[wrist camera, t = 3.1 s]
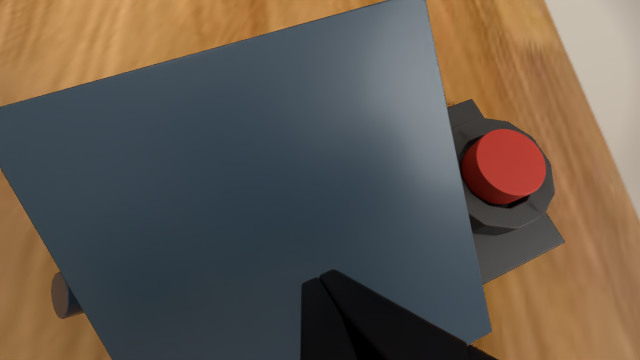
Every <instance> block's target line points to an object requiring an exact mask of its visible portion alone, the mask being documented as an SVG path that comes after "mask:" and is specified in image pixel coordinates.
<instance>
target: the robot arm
mask: <svg viewBox="0 0 640 360" xmlns="http://www.w3.org/2000/svg"><path fill="white" fill-rule="evenodd" d="M300 360H498V359H496V358H494V357H492V356H490V355H488V354H487V353H485V352H483V351H481V350H479V349H478V348H476V347H474V346H472V345H468V347H467V343H466V342H465V341H463V340H461V339H460V338H458V337H456V336H454V335H452V334H451V333H449V332H447V331H445V330H443V329H442V328H440V327H438V326H436V325H434V324H433V323H431V322H429V321H427V320H425V319H424V318H422V317H420V316H418V315H417V314H415V313H413V312H411V311H409V310H408V309H406V308H404V307H402V306H400V305H399V304H397V303H395V302H393V301H391V300H390V299H388V298H386V297H384V296H382V295H381V294H379V293H377V292H375V291H374V290H372V289H370V288H368V287H366V286H365V285H363V284H361V283H359V282H357V281H356V280H354V279H352V278H350V277H348V276H347V275H345V274H343V273H341V272H339V271H338V270H336V269H332V270H330V271H328V272H325V273H323V274H321V275H320V276H319V278H318V277H314V278H312V279H310V280H308V281H306V282H304V283H303V284H302V287H301V339H300Z"/></svg>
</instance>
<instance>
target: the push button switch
mask: <svg viewBox="0 0 640 360" xmlns="http://www.w3.org/2000/svg"><path fill="white" fill-rule="evenodd" d="M447 110H448V115H449V120H450V125H451V130H452V135H453V140H454V145H455V150H456V155H457V160H458V165H459V170H460V175H461V180H462V185H463V190H464V195H465V200H466V205H467V210H468V214H469V219H470V224H471V229H472V234H473V239H474V244H475V249H476V254H477V259H478V264H479V269H480V274H481V279H482V284H485V283H487V282H489V281H491V280H493V279H495V278H497V277H499V276H501V275H503V274H505V273H506V272H508V271H510V270H512V269H514V268H516V267H518V266H520V265H522V264H524V263H526V262H528V261H530V260H532V259H533V258H535V257H537V256H539V255H541V254H543V253H545V252H547V251H549V250H551V249H553V248H555V247H557V246H559V245H561V244H562V243H564V242H565V241H564V239H563V238H562V236H561V235H560V233H559V232H558V230H557V229H556V227H555V225H554V224H553V222H552V221H551V219H550V218H549V216H548V215H547V213H546V210H547V208H548V206H549V204H550V202H551V200H552V197H553V195H554V193H555V192H554V184H553V177H552V170H551V164H550V162H549V160H548V159H547V157H546V156H545V155H544V153H543V152H542V150H541V149H540V147H539V146H538V144H537V143H536V141H535V140H534V139H533V137H531V136H530V135H528V134H526V133H525V132H523V131H522V130H520V129H519V128H517V127H515V126H514V125H512V124H511V123H509V122H506V121H500V120H493V119H486V118H484V117H483V115H482V114H481V112H480V110H479V109H478V107H477V106H476V104H475V103H474V101H473V100H472V99H470V100H467V101H465V102H462V103H459V104H456V105H454V106H451V107H448V108H447ZM498 129H509V130H513V131H517V132H519V133H521V134H523V135H525V136H526V137H528V138H529V139H530V140H531V141H533V142H534V143H535V144H536V146H537V147H538V148H539V150H540V151H541V153H542V155H543V157H544V160H545V164H546V175H545V179H544V182H543V183H542V185H541V186H540V187H539V189H537V190H536V191H535V192H533V193H531V194H529V195H527V196H525V197H522V198H520V199H518V200H516V201H513V202H511V203H507V204H494V203H490V202H487V201H485V200H483V199H481V198H480V197H478V196H477V195H475V194H474V193H473V192H472V191H471V189H470V188H469V187H468V185H467V184H466V182H465V180H464V178H463V174H462V168H461V167H462V159H463V156H464V154H465V152H466V151H467V150H468V149H469V148H470V147H471V146H472V145H473V144H475V143H476V142H477V141H478V140H479V139H480V138H482V137H483V136H484V135H485V134H487V133H488V132H490V131H493V130H498Z"/></svg>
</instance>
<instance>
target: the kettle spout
mask: <svg viewBox="0 0 640 360" xmlns="http://www.w3.org/2000/svg"><path fill="white" fill-rule="evenodd" d="M51 293H52V302H53V307H54V310H55V312H56V314H57V316H58V317H59V318H61V319H65V318H68V317H71V316H75V315H78V314H82V313H85V312H84V311H83V309H82V307H81V306H80V304H79V302H78V300H77V299H76V297H75V295H74V294H73V292H72V290H71V288H70V287H69V285H68V283H67V282H66V280H65V278H64V276H63V275H62V273H61V272H58V273H56V274H55V275H54V278H53V281H52V288H51Z"/></svg>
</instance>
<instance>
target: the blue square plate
mask: <svg viewBox="0 0 640 360" xmlns="http://www.w3.org/2000/svg"><path fill="white" fill-rule="evenodd" d="M0 168H1V170H2V172H3V174H4V175H5V177H6V179H7V180H8V182H9V184H10V186H11V187H12V189H13V191H14V192H15V194H16V196H17V198H18V199H19V201H20V203H21V204H22V206H23V208H24V210H25V211H26V213H27V215H28V216H29V218H30V220H31V222H32V223H33V225H34V227H35V228H36V230H37V232H38V234H39V235H40V237H41V239H42V240H43V242H44V244H45V246H46V247H47V249H48V251H49V252H50V254H51V256H52V258H53V259H54V261H55V263H56V264H57V266H58V268H59V270H60V271H61V273H62V275H63V276H64V278H65V280H66V282H67V283H68V285H69V287H70V288H71V290H72V292H73V294H74V295H75V297H76V299H77V300H78V302H79V304H80V306H81V307H82V309H83V311H84V312H85V314H86V316H87V318H88V319H89V321H90V323H91V324H92V326H93V328H94V330H95V331H96V333H97V335H98V336H99V338H100V340H101V341H102V343H103V345H104V347H105V348H106V350H107V352H108V353H109V355H110V357H111V359H112V360H300V339H301V287H302V284H303V283H304V282H306V281H308V280H310V279H312V278H314V277H318V278H319V276H320V275H321V274H323V273H325V272H328V271H330V270H332V269H336V270H338V271H339V272H341V273H343V274H345V275H347V276H348V277H350V278H352V279H354V280H356V281H357V282H359V283H361V284H363V285H365V286H366V287H368V288H370V289H372V290H374V291H375V292H377V293H379V294H381V295H382V296H384V297H386V298H388V299H390V300H391V301H393V302H395V303H397V304H399V305H400V306H402V307H404V308H406V309H408V310H409V311H411V312H413V313H415V314H417V315H418V316H420V317H422V318H424V319H425V320H427V321H429V322H431V323H433V324H434V325H436V326H438V327H440V328H442V329H443V330H445V331H447V332H449V333H451V334H452V335H454V336H456V337H458V338H460V339H461V340H463V341H465V342H466V343H467V345H469V344H471V343H472V342H474V341H476V340H478V339H479V338H481V337H483V336H485V335H487V334H488V333H490V332H492V329H491V324H490V319H489V314H488V309H487V304H486V299H485V294H484V289H483V284H482V279H481V274H480V269H479V264H478V259H477V254H476V249H475V244H474V239H473V234H472V229H471V224H470V219H469V214H468V210H467V205H466V200H465V195H464V190H463V185H462V180H461V175H460V170H459V165H458V160H457V155H456V150H455V145H454V140H453V135H452V130H451V125H450V120H449V115H448V110H447V105H446V100H445V95H444V90H443V85H442V80H441V75H440V70H439V65H438V60H437V55H436V50H435V45H434V40H433V35H432V30H431V25H430V20H429V15H428V10H427V5H426V0H387V1H383V2H379V3H376V4H372V5H368V6H365V7H361V8H357V9H354V10H350V11H347V12H343V13H339V14H336V15H332V16H328V17H325V18H321V19H318V20H314V21H310V22H307V23H303V24H299V25H296V26H292V27H289V28H285V29H281V30H278V31H274V32H270V33H267V34H263V35H259V36H256V37H252V38H249V39H245V40H241V41H238V42H234V43H230V44H227V45H223V46H220V47H216V48H212V49H209V50H205V51H201V52H198V53H194V54H191V55H187V56H183V57H180V58H176V59H172V60H169V61H165V62H162V63H158V64H154V65H151V66H147V67H143V68H140V69H136V70H132V71H129V72H125V73H122V74H118V75H114V76H111V77H107V78H103V79H100V80H96V81H93V82H89V83H85V84H82V85H78V86H74V87H71V88H67V89H64V90H60V91H56V92H53V93H49V94H45V95H42V96H38V97H34V98H31V99H27V100H24V101H20V102H16V103H13V104H9V105H5V106H2V107H0Z"/></svg>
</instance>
